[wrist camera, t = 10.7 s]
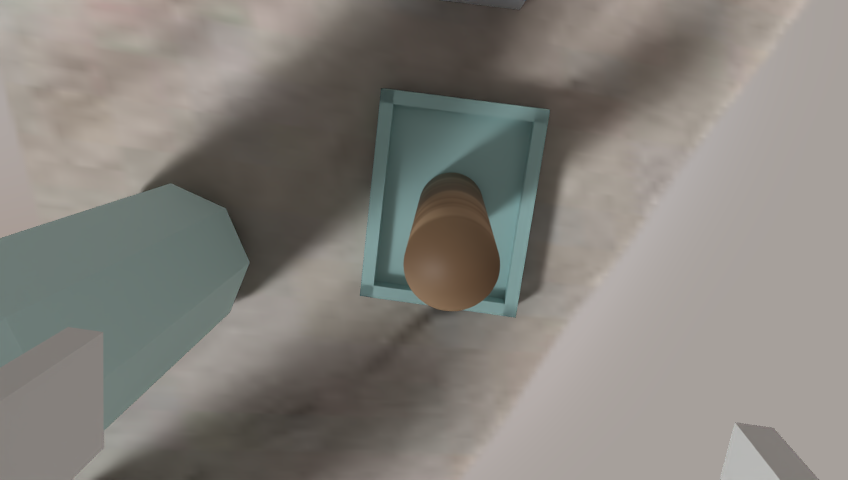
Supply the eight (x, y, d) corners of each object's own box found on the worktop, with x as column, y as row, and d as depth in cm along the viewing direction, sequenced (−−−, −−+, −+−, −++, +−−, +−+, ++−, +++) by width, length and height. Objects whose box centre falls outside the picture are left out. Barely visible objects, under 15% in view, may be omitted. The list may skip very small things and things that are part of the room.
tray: (385, 88, 40) (381, 88, 38) (546, 108, 39) (550, 109, 37) (364, 286, 43) (359, 295, 41) (513, 306, 42) (515, 317, 40)
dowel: (423, 168, 40) (409, 211, 26) (487, 176, 40) (507, 224, 26) (415, 231, 40) (398, 304, 27) (478, 239, 40) (492, 317, 27)
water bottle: (253, 183, 42) (-48, 318, 17) (257, 327, 44) (-3, 622, 20) (106, 176, 42) (-383, 298, 18) (117, 319, 45) (-301, 595, 20)
